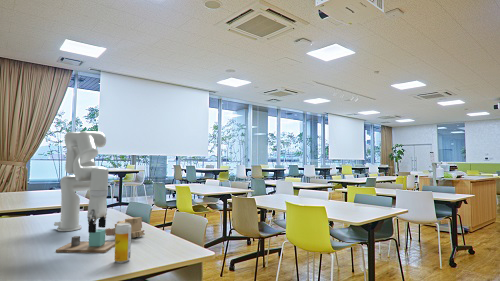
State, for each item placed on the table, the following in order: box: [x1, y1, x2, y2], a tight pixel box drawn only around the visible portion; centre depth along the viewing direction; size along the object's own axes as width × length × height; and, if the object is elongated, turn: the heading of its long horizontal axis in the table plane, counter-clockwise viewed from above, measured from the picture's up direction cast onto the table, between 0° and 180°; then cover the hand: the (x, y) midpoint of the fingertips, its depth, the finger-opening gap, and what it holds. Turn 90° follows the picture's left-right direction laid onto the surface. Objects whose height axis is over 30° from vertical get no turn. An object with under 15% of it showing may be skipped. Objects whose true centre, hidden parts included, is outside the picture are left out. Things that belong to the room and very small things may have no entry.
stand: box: [55, 235, 115, 254], centre depth 147 cm, size 22×14×5 cm, turn 91°
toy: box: [105, 216, 145, 239], centre depth 168 cm, size 10×20×20 cm
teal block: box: [88, 228, 107, 246], centre depth 147 cm, size 5×5×7 cm
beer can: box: [114, 223, 132, 264], centre depth 129 cm, size 6×6×15 cm
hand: (97, 229), depth 148 cm, fingers open, 9 cm apart
